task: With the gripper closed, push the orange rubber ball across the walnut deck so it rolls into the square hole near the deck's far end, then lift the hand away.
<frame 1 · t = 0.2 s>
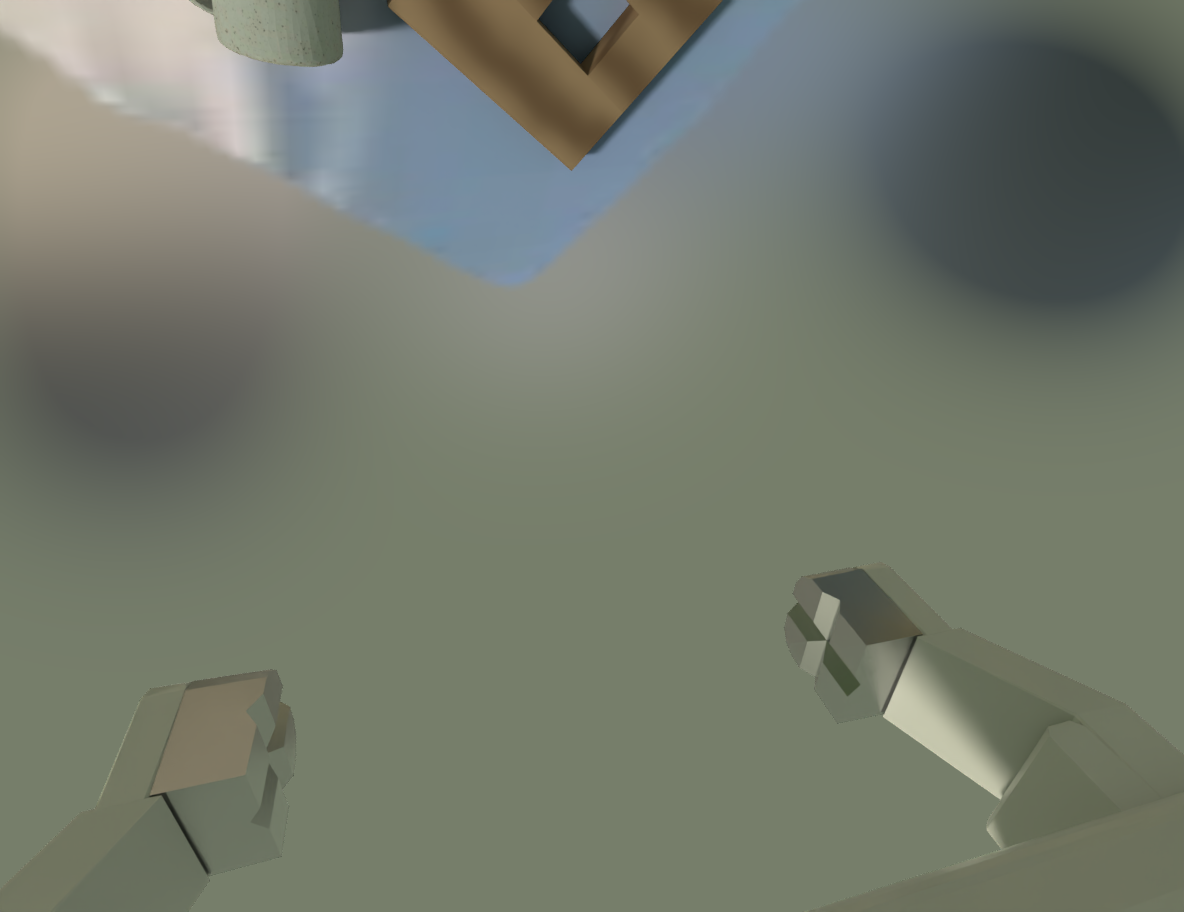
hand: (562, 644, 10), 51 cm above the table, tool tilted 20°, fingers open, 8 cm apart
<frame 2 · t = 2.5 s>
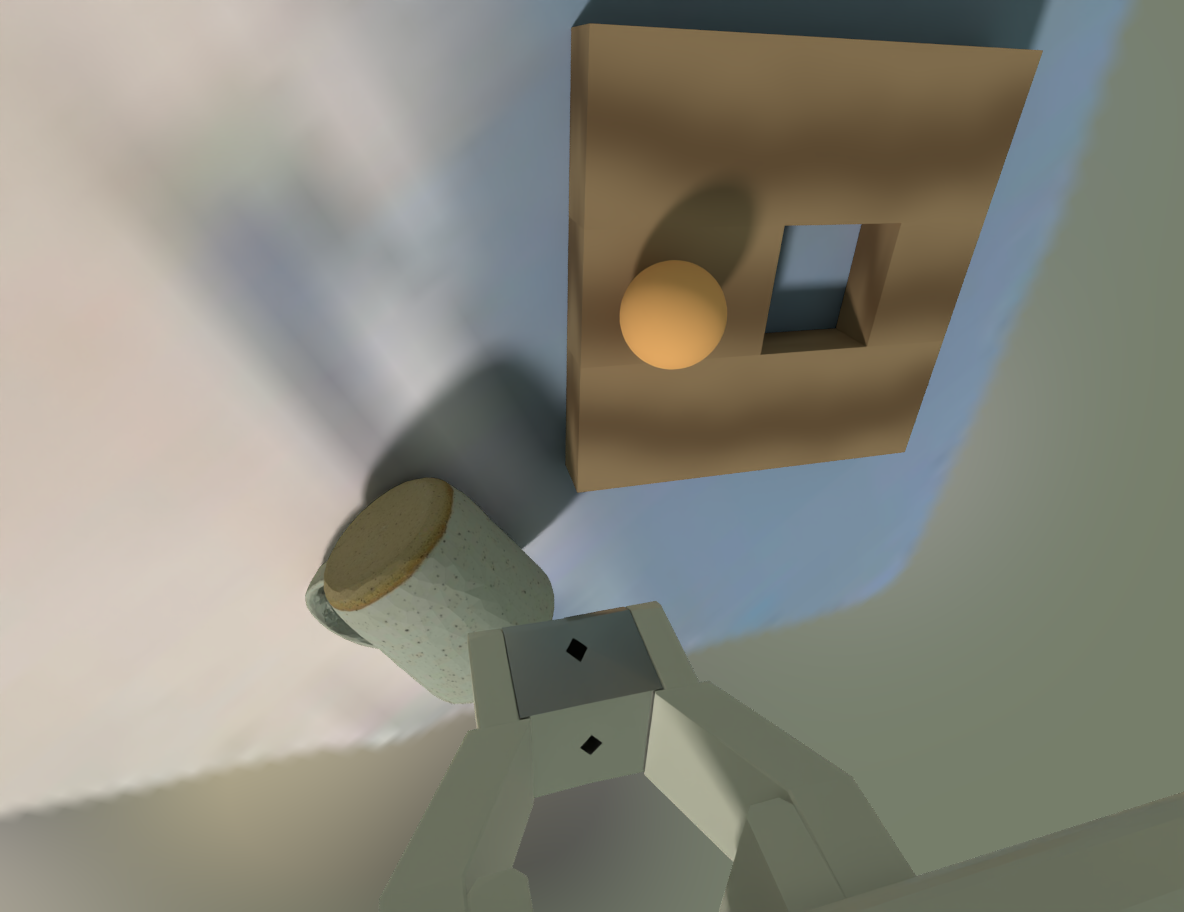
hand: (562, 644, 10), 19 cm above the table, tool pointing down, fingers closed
rubber ball: (672, 315, 23), point 4 cm above the table, touching walnut deck
ceramic mug: (418, 550, 32), on the table
walnut deck: (759, 276, 29), on the table
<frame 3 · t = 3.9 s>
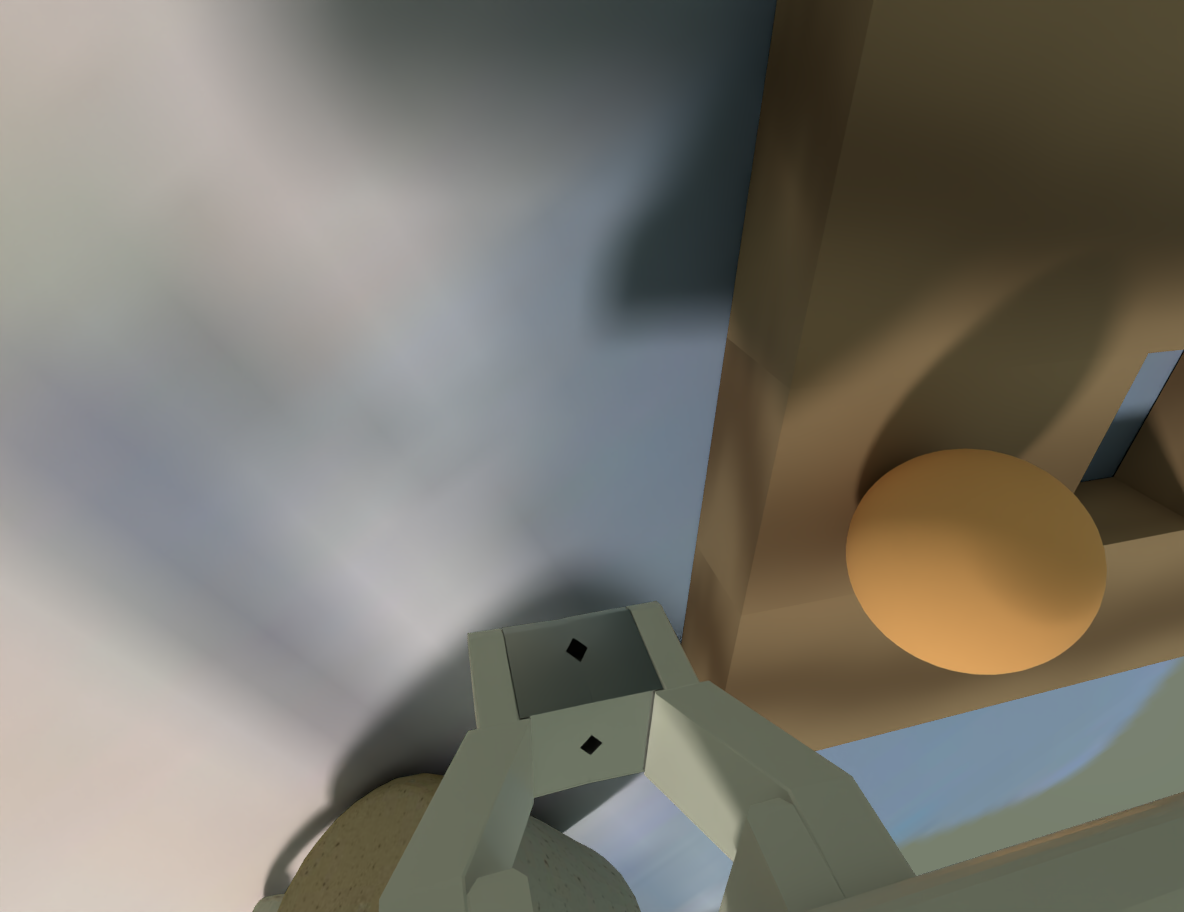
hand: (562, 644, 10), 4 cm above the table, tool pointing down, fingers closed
rubber ball: (964, 558, 11), point 4 cm above the table, touching walnut deck
ceramic mug: (423, 838, 20), on the table
walnut deck: (1024, 412, 16), on the table
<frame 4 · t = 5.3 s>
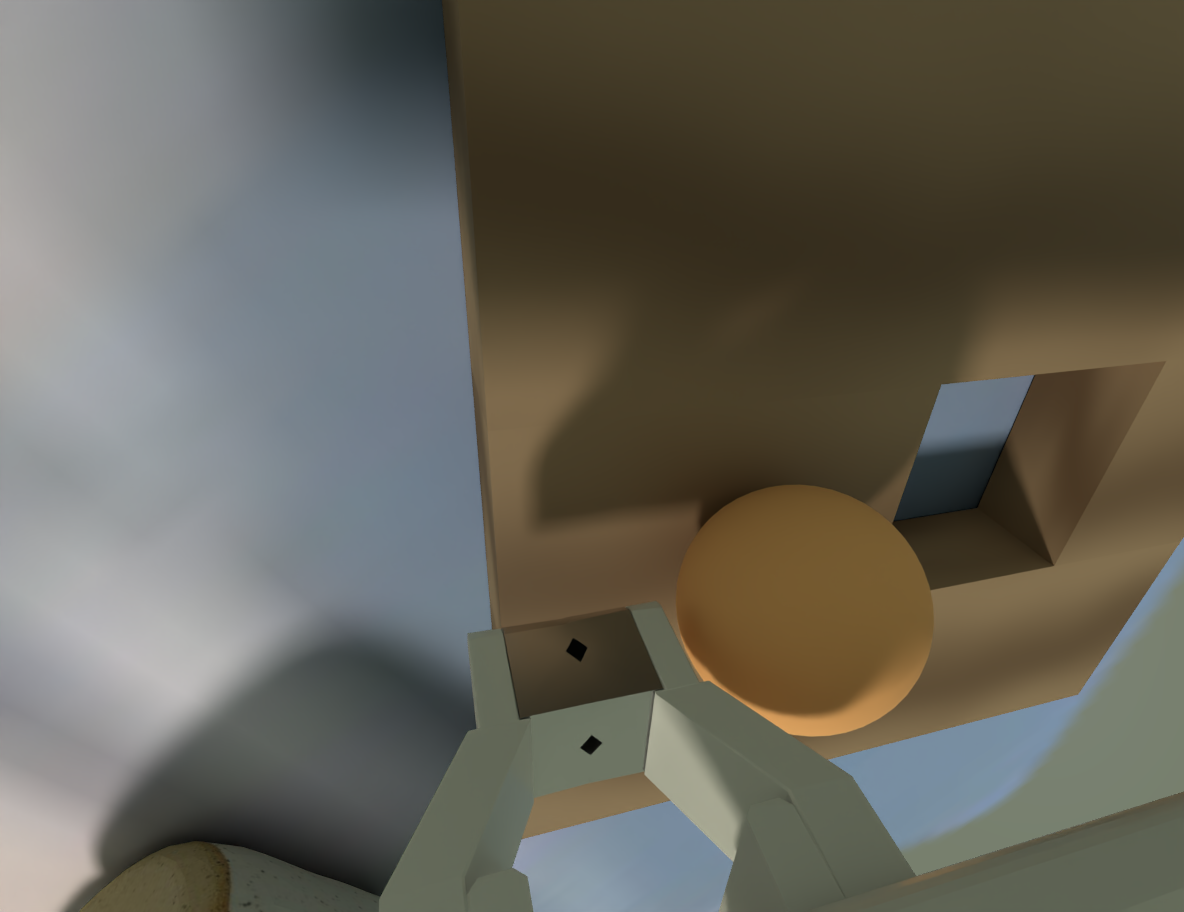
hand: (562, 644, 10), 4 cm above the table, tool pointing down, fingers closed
rubber ball: (796, 604, 10), point 4 cm above the table, tilted 47°, touching walnut deck
ceramic mug: (231, 901, 19), on the table
walnut deck: (856, 442, 15), on the table
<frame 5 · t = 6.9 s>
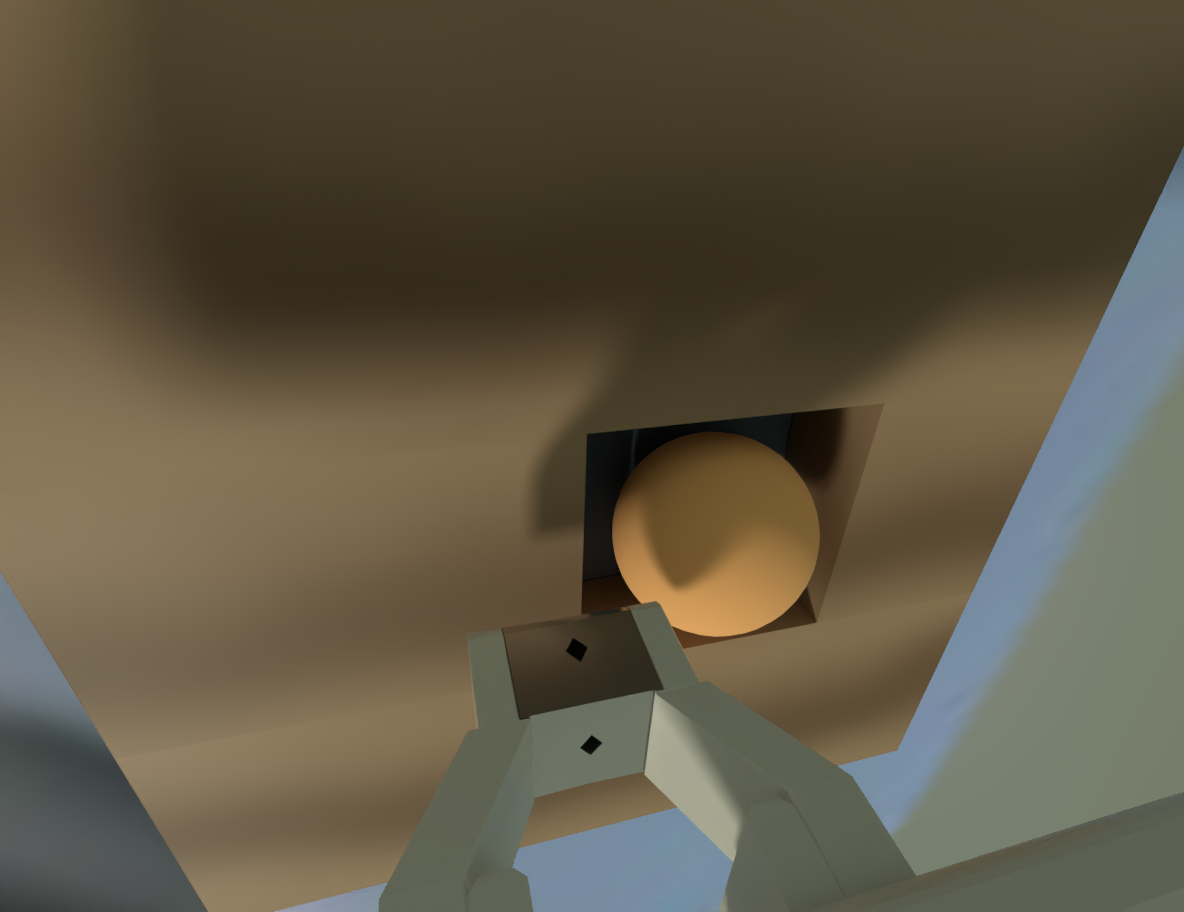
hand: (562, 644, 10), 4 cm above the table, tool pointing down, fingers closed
rubber ball: (712, 532, 12), point 2 cm above the table, tilted 96°
walnut deck: (587, 485, 13), on the table
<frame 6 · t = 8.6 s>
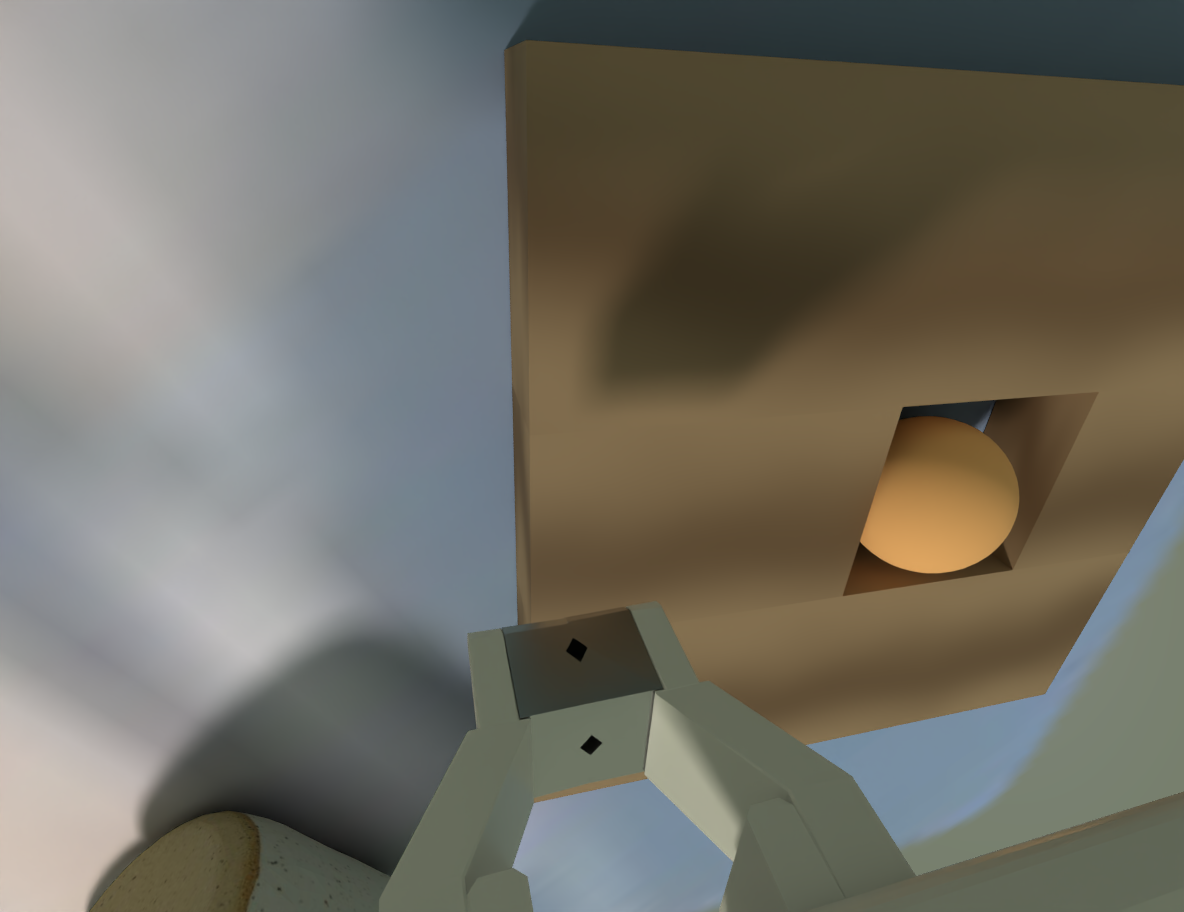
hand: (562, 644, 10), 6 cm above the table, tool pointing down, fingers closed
rubber ball: (924, 494, 16), point 2 cm above the table, tilted 119°
ceramic mug: (251, 873, 21), on the table
walnut deck: (838, 456, 17), on the table
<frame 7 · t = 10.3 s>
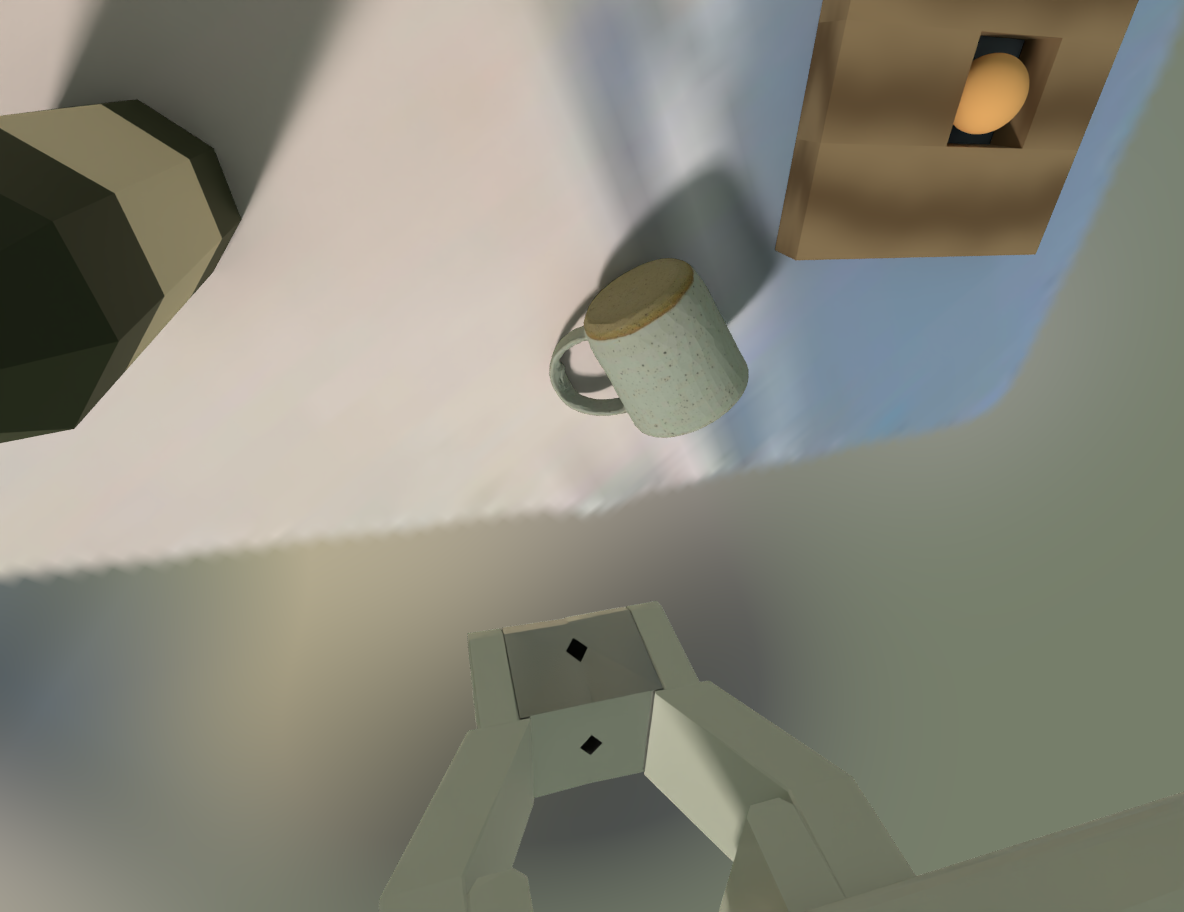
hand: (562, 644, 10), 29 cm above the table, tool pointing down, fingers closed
wine bottle: (142, 196, 29), on the table
rubber ball: (986, 94, 35), point 2 cm above the table, tilted 116°
ceramic mug: (626, 339, 40), on the table
walnut deck: (941, 90, 37), on the table
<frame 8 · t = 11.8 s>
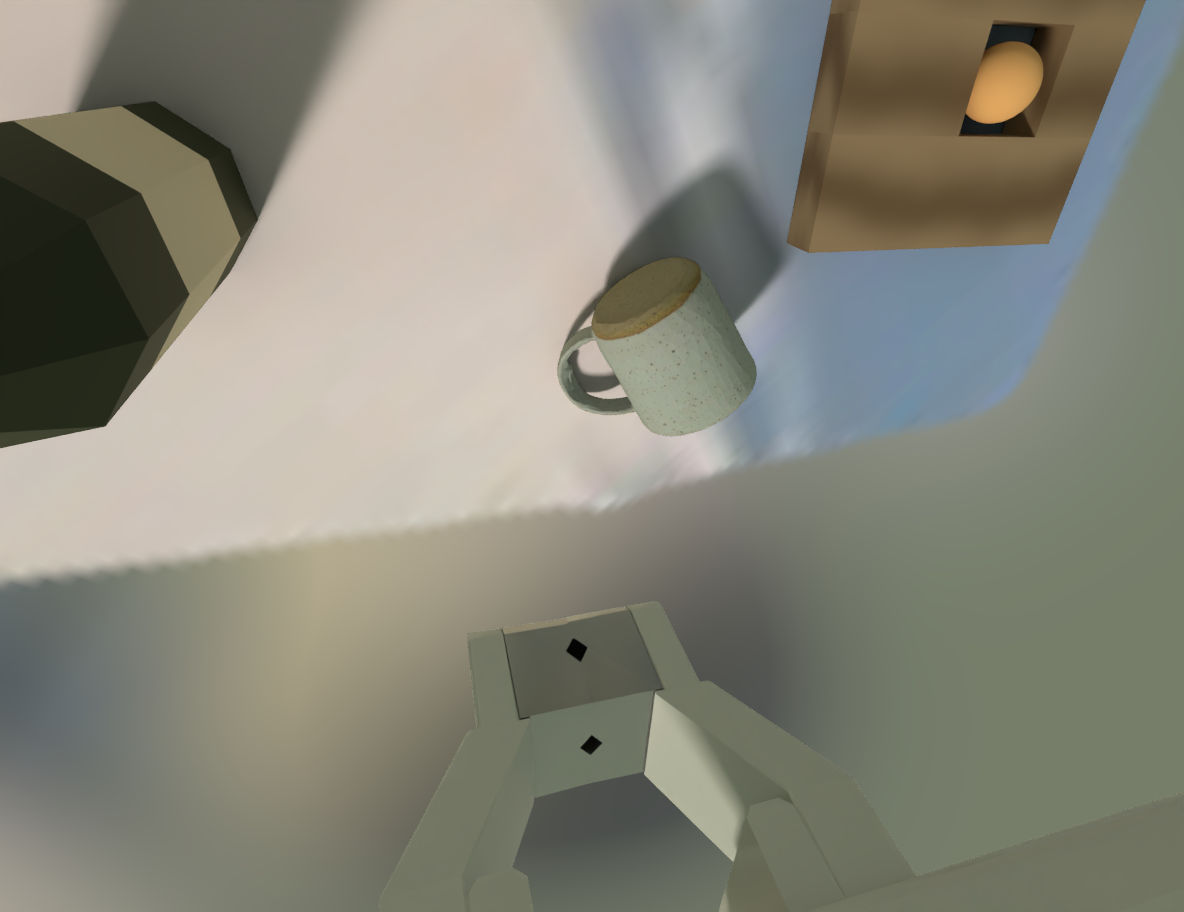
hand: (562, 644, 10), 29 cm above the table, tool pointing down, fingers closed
wine bottle: (160, 198, 30), on the table
rubber ball: (999, 83, 35), point 2 cm above the table, tilted 113°
ceramic mug: (633, 339, 40), on the table
walnut deck: (953, 80, 37), on the table
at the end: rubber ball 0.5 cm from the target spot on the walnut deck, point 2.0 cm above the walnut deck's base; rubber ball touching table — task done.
